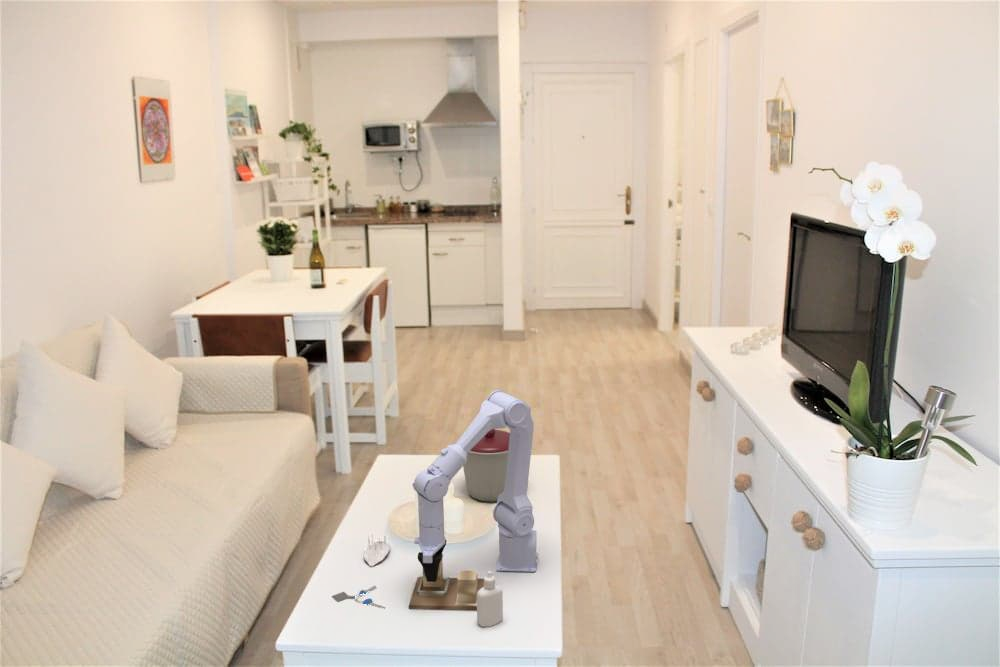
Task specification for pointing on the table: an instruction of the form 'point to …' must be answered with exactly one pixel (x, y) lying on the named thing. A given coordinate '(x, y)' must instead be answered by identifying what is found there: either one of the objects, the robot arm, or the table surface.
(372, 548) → the pincushion
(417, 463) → the table surface
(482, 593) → the eye dropper bottle
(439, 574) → the maple peg
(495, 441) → the canister
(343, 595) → the key chain
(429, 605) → the board
